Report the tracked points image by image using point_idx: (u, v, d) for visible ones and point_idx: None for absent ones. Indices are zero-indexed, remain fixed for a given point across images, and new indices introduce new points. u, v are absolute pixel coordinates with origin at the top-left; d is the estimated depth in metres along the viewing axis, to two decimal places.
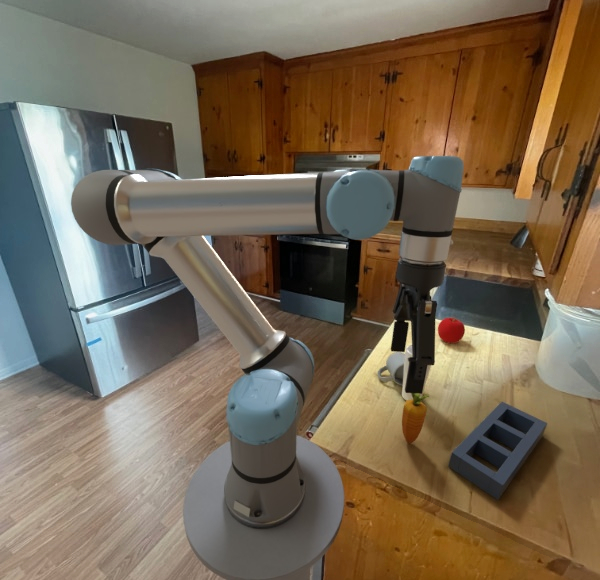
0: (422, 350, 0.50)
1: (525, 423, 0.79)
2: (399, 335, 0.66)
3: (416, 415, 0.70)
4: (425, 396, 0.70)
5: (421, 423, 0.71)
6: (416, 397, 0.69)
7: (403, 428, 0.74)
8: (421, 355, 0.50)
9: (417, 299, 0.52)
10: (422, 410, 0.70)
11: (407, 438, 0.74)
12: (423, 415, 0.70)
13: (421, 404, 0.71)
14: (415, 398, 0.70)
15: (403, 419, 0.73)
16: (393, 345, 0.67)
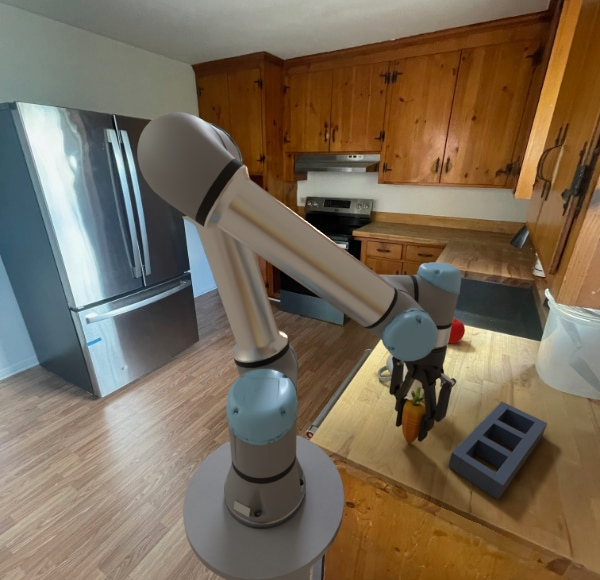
0: (442, 413, 0.66)
1: (525, 423, 0.79)
2: None
3: (416, 415, 0.70)
4: None
5: None
6: (416, 397, 0.69)
7: (403, 428, 0.74)
8: (441, 416, 0.66)
9: (438, 374, 0.64)
10: (422, 410, 0.70)
11: (407, 438, 0.74)
12: None
13: (421, 404, 0.71)
14: (415, 398, 0.70)
15: (403, 419, 0.73)
16: (399, 422, 0.75)
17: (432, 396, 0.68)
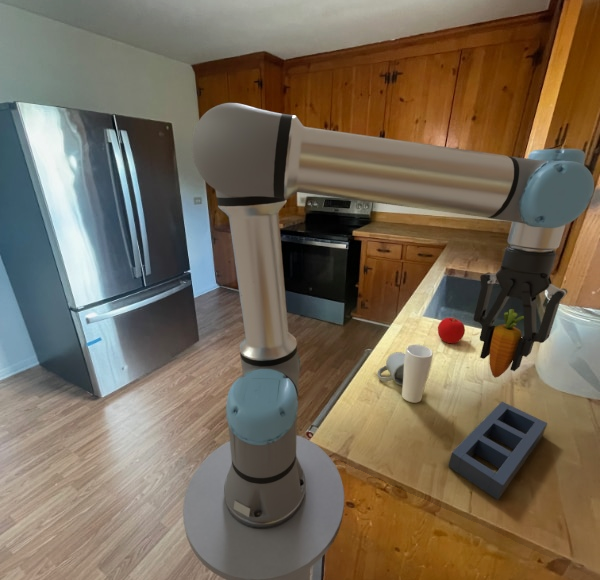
0: (548, 331, 0.58)
1: (525, 423, 0.79)
2: (490, 341, 0.66)
3: (511, 339, 0.61)
4: (521, 317, 0.62)
5: (515, 349, 0.63)
6: (512, 317, 0.61)
7: (491, 358, 0.65)
8: (546, 335, 0.58)
9: (546, 284, 0.56)
10: (518, 333, 0.62)
11: (496, 369, 0.65)
12: (519, 339, 0.62)
13: (515, 328, 0.63)
14: (510, 319, 0.61)
15: (492, 347, 0.64)
16: (485, 352, 0.67)
17: (533, 314, 0.59)
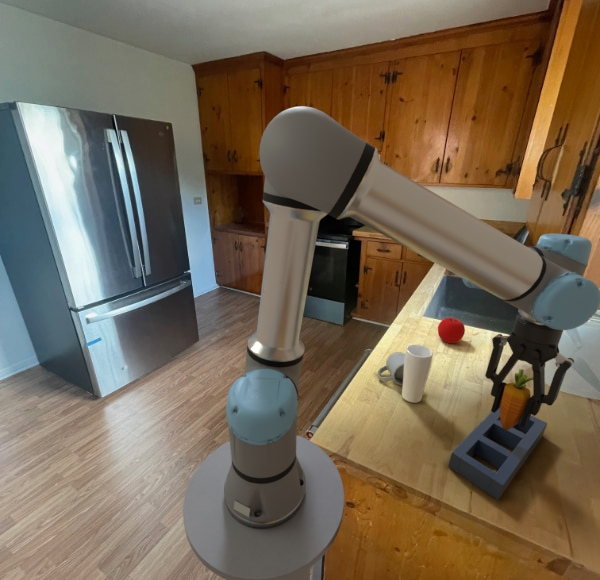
0: (555, 396, 0.62)
1: None
2: (501, 396, 0.71)
3: (521, 399, 0.66)
4: (530, 378, 0.67)
5: (525, 407, 0.67)
6: (522, 379, 0.65)
7: (502, 413, 0.70)
8: (554, 399, 0.63)
9: (555, 354, 0.60)
10: (528, 394, 0.66)
11: (506, 424, 0.70)
12: (528, 398, 0.66)
13: (524, 387, 0.68)
14: (520, 380, 0.66)
15: (503, 403, 0.69)
16: (496, 407, 0.71)
17: (542, 378, 0.64)
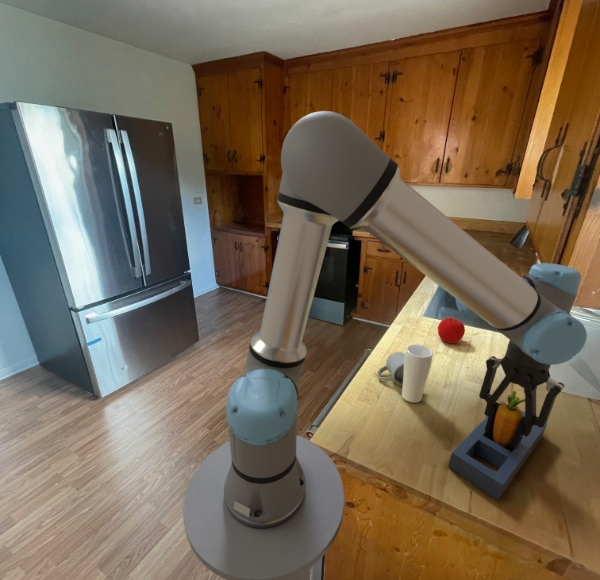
0: (546, 418, 0.64)
1: None
2: (494, 416, 0.73)
3: (513, 420, 0.68)
4: (522, 400, 0.69)
5: (517, 428, 0.69)
6: (515, 401, 0.68)
7: (495, 433, 0.72)
8: (545, 422, 0.65)
9: (546, 378, 0.63)
10: (520, 415, 0.68)
11: (499, 443, 0.72)
12: (520, 420, 0.68)
13: (517, 408, 0.70)
14: (513, 402, 0.68)
15: (496, 424, 0.71)
16: (489, 426, 0.73)
17: (533, 401, 0.66)
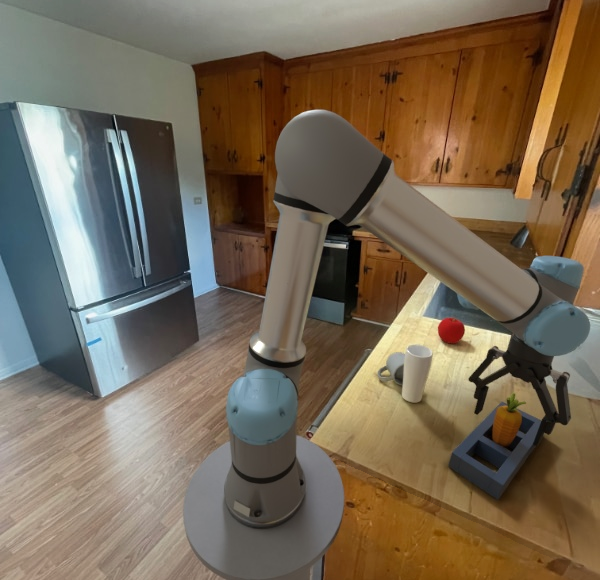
0: (567, 413, 0.62)
1: (525, 423, 0.79)
2: (483, 399, 0.74)
3: (513, 422, 0.68)
4: (521, 403, 0.69)
5: (516, 430, 0.70)
6: (514, 404, 0.68)
7: (494, 435, 0.72)
8: (567, 417, 0.62)
9: (548, 372, 0.62)
10: (519, 417, 0.69)
11: None
12: (520, 422, 0.69)
13: (516, 411, 0.70)
14: (512, 405, 0.68)
15: (495, 426, 0.71)
16: (479, 409, 0.74)
17: (547, 395, 0.64)
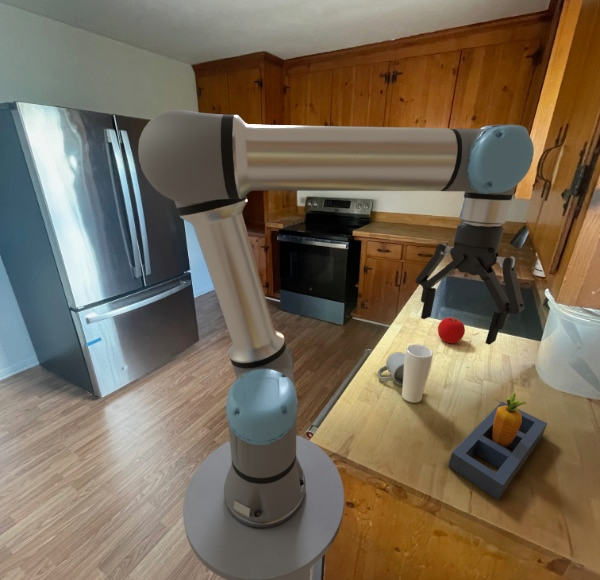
0: (518, 300, 0.57)
1: (525, 423, 0.79)
2: (430, 302, 0.70)
3: (513, 422, 0.68)
4: (522, 403, 0.69)
5: (516, 430, 0.70)
6: (514, 404, 0.68)
7: (494, 435, 0.72)
8: (518, 304, 0.56)
9: (493, 258, 0.58)
10: (519, 417, 0.69)
11: None
12: (520, 422, 0.69)
13: (516, 411, 0.70)
14: (512, 405, 0.68)
15: (495, 426, 0.71)
16: (425, 313, 0.71)
17: (497, 285, 0.59)
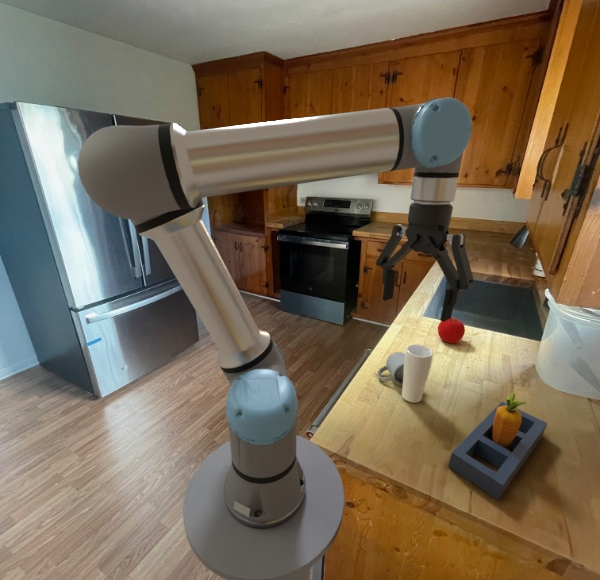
0: (467, 276, 0.58)
1: (525, 423, 0.79)
2: (390, 283, 0.72)
3: (513, 422, 0.68)
4: (521, 403, 0.69)
5: (516, 430, 0.70)
6: (514, 404, 0.68)
7: (494, 435, 0.72)
8: (468, 280, 0.58)
9: (443, 236, 0.59)
10: (519, 417, 0.69)
11: None
12: (520, 422, 0.69)
13: (516, 411, 0.70)
14: (512, 405, 0.68)
15: (495, 426, 0.71)
16: (386, 294, 0.72)
17: (448, 263, 0.60)
